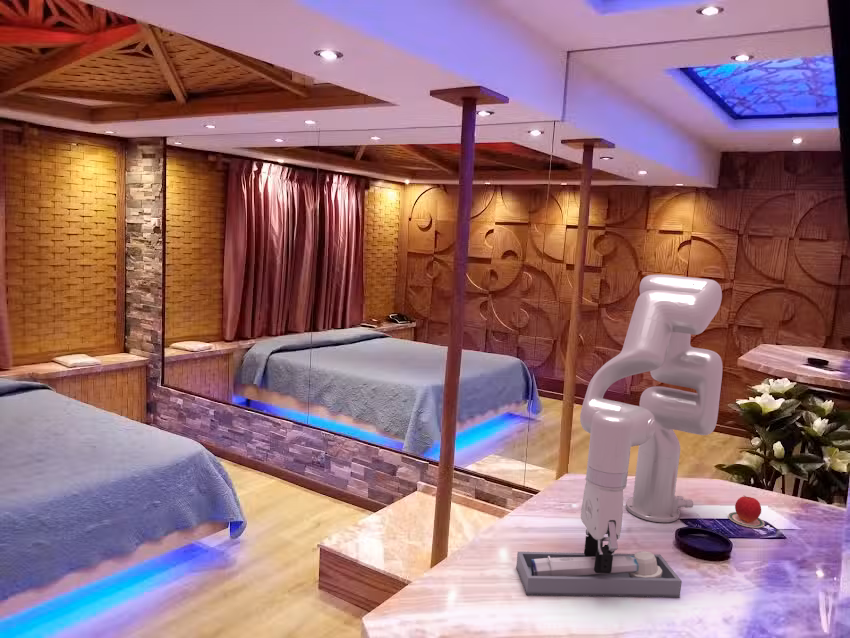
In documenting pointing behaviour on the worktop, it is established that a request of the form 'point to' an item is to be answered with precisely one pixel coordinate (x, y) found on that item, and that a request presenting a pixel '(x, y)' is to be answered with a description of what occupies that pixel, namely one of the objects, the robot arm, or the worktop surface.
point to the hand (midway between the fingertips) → (597, 562)
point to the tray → (596, 580)
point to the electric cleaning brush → (584, 566)
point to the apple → (747, 513)
